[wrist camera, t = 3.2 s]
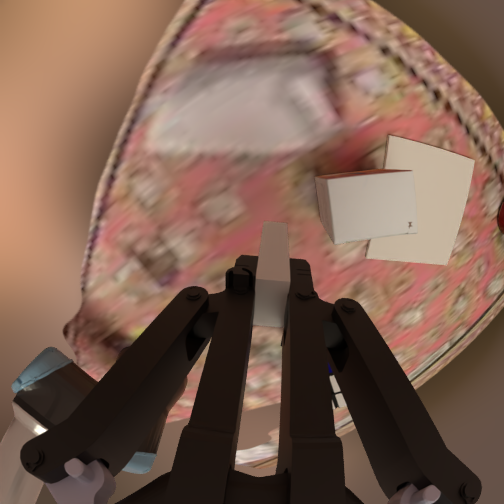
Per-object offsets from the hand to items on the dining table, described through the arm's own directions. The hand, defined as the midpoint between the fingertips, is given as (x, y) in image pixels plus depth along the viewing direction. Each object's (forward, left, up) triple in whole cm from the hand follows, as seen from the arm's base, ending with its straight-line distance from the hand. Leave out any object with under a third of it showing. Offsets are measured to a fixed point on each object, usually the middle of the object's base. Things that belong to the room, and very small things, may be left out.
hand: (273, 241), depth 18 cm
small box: (+9, 0, -15) cm, 17 cm away
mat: (+20, 0, -15) cm, 25 cm away
